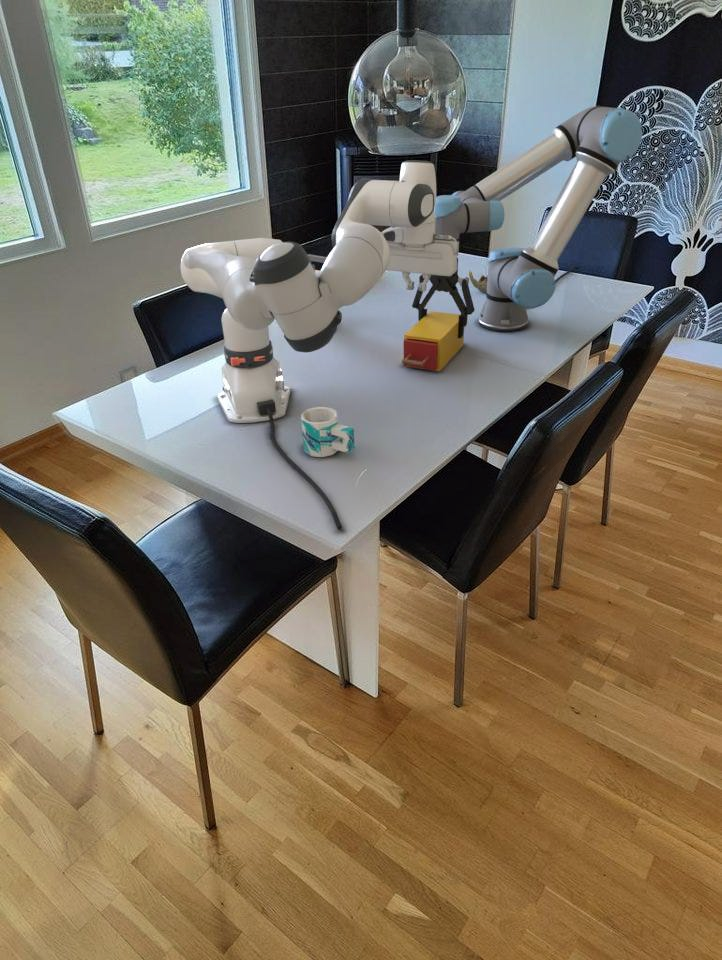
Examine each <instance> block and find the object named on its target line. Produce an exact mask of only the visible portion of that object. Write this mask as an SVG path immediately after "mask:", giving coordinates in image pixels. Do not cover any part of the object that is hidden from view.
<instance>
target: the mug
mask: <svg viewBox="0 0 722 960" xmlns="http://www.w3.org/2000/svg"><path fill="white" fill-rule="evenodd" d="M300 422H301V423H300V424H301V432H302V446H303V452H304V453H305V454H307V455H308V456H310V457H316V458H324V457H329V456H333V455H334V454H336V453H337V452H342V453H346V454H349V453H351V452H352V451H353V450H354V449H356V448H355V428H354V427H351V426H347V425H344V424H341V423H339V422H338V411H337V410H335V409H334V408H332V407H326V406H316V407H310V408H307V409H306V410H304V411H303V412H301V414H300Z"/></svg>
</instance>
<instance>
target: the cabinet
mask: <svg viewBox="0 0 722 960" xmlns="http://www.w3.org/2000/svg"><path fill="white" fill-rule="evenodd" d="M459 315H460V314H459V313H450V312H441V311H434V310H430V311H429V312H427V315H426V316H425V317H423V318H422V319H421V320H420V321H419V320H418V322H417V323H416V324H415V325H413V326H412V327H411V328H410V329H408V331H407V332H406V333H405V334H403V341H404V340H405V339H407V340H410V339H416V340H423V341H430V342H438V343H437V344H438V352H437V369H436V370H432V371H435V372H441V371H442V370H443V368H445V366H446V365H447V364H448V363H449V362H450V361H451V360H452V358H453V357H454V356H455V355H457V353H458V352H459V350H460V349H461V348H463V346H464V339H465V331H464V332H463V336H462V337H461V338H458V326H459ZM406 367H408V368H411V367H410V366H406ZM413 368H414V369H418V368H417V367H413ZM419 369H422V370H424V369H423V368H419ZM426 370H428V371H431V370H430V369H426Z"/></svg>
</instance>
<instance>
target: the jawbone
mask: <svg viewBox="0 0 722 960" xmlns="http://www.w3.org/2000/svg"><path fill="white" fill-rule="evenodd" d="M473 275H474V274H473V271H472V270H468V276H469V277H468V278H469V281H470V283H471V284H472V285H473V287H474V288H476V289H477V291H479V292H480V293H487V278H488V274H487V275H486V276H485V275H484V274H482V275H481V277H479V279H478V280H477V279H476V278H474V276H473Z"/></svg>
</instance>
